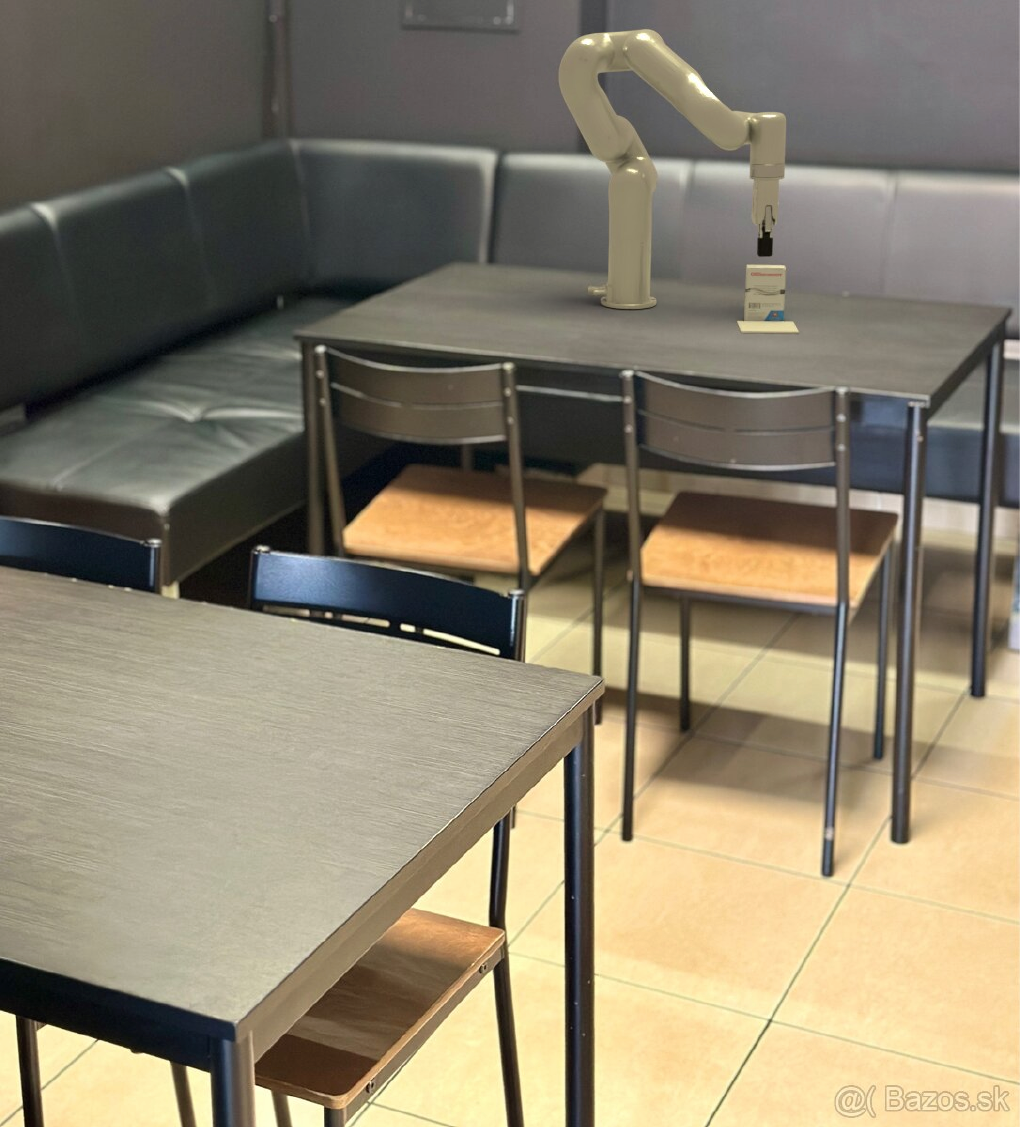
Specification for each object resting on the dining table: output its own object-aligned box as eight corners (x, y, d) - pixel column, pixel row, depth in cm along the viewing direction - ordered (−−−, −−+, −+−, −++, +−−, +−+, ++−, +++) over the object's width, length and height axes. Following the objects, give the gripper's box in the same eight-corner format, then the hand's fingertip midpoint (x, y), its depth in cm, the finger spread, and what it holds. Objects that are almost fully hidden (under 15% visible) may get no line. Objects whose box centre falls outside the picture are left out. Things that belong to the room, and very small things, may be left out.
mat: (741, 333, 335) (741, 331, 334) (737, 322, 344) (737, 321, 344) (798, 333, 334) (798, 331, 334) (792, 323, 343) (793, 321, 343)
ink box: (782, 317, 349) (785, 264, 345) (783, 322, 344) (787, 268, 340) (743, 317, 350) (745, 263, 345) (744, 321, 345) (746, 267, 341)
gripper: (746, 167, 353) (744, 250, 359) (753, 176, 339) (750, 262, 345) (780, 166, 352) (777, 250, 359) (788, 175, 338) (785, 261, 345)
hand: (764, 255), depth 352 cm, fingers closed
